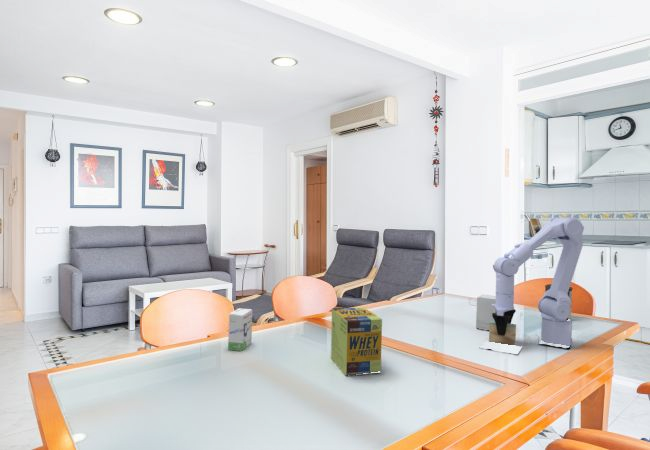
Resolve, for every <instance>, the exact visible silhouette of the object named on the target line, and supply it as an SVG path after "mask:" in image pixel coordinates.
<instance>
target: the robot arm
mask: <svg viewBox="0 0 650 450" xmlns="http://www.w3.org/2000/svg"><path fill="white" fill-rule="evenodd" d="M584 229H585V227H584V225H583V223H582V221H581V220H579V219H578V218H577V217H559V216H556V217H555V216H554V217H552V218H551V219H550V220H549V221H547V222H546V223H545V224H544V226H543V227H542V228H541V229H539V231H538V232H536V233H535V234H534V235H533V236H532V237H531V238H530V239H528V241H527V242H526V243H525V242H520V243H516V244H514V247H513V248H512V249H511V250H510V251H509V252H506V253H504V255H503V257H498V258H497V259H495V261H494V264H492V269H493V271H494V272H495V296H496V302H495V304H492V307H495V308H496V310H497V313H493V314H492V317H493V318H494V321H495V323H496V328H497V333H498V335H502V336H505V333H506V328H507V324H508V323H509V324H512V321H513V318H514V315H515V313H516V312H517V311H516V308H515V306H514V305H515V304H514V300H515V299H514V298H515V297H514V296H515V275H516V274H517V273H518V271H519V268H520V267H521V266H522V265H523V264H525V263H526V262H527V261H528V260H529V259H530V258H532V257H533V256H534V251H535V250H536V249H538V248H539V247H540V246H542V245H544V244H545V243H546V242H548V241H549V240H551V239H552V238H556V239H558V240H559V242H560V243H561V245H562V250H561V254H560V257H559V259H558V263H557V265H556V269H555V272H554V274H553V275H554V276H553V278H552V281H551V287H550V289H549V290H547V291H546V292H544V293H543V295H542V297H541V298H540V299H539V300H538V302H537V309H538V312H540V315H541V316H540V317H541V330H540V331H541V332H540V339H541V340H542V341H544V342H547V343H553V344H561V345H566V346H570V345H571V346H572V344H573V338H572V335H573V334H572V333H573V322H572V321H573V320H572V321H567V320H566V319H567V318H568V317H569V315H570V312H571V313H572V308H571V309H570V304H571V305H572V302H571V300H570V298H569V296H568V291H569V287H571V284H572V280H573V277H574V274H575V271H576V267H577V265H578V262H579V259H580V256H581V252H582V248H583V247H584V242H583V233H584ZM556 299H557V300H556Z"/></svg>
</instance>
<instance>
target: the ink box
mask: <svg viewBox="0 0 650 450" xmlns="http://www.w3.org/2000/svg"><path fill="white" fill-rule="evenodd" d="M228 316H229V317H228V342H227V343H228V346H227V350H228V351H229V350H230V351H237V352H238V351H239V352H243V350H245V349H246V348H247V347H248V346H250V345H251V344H252V336H253V309H251V308H241V307H239V308H236V309H235V310H233V311H231V312H229V315H228Z"/></svg>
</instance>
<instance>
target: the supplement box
mask: <svg viewBox="0 0 650 450" xmlns="http://www.w3.org/2000/svg"><path fill="white" fill-rule="evenodd" d="M495 302H496V295H490V294H481V295H479V296H477V297H476V313H475V314H476V315H475V317H476V319H475V329H476V328H479V329H478V330H480V329H485V330H489V324H490V322H491V321H494V318H493V317H492V314H493V313H497V310H496V308H495V307H492V304H495ZM485 330H484V331H485Z"/></svg>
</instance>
